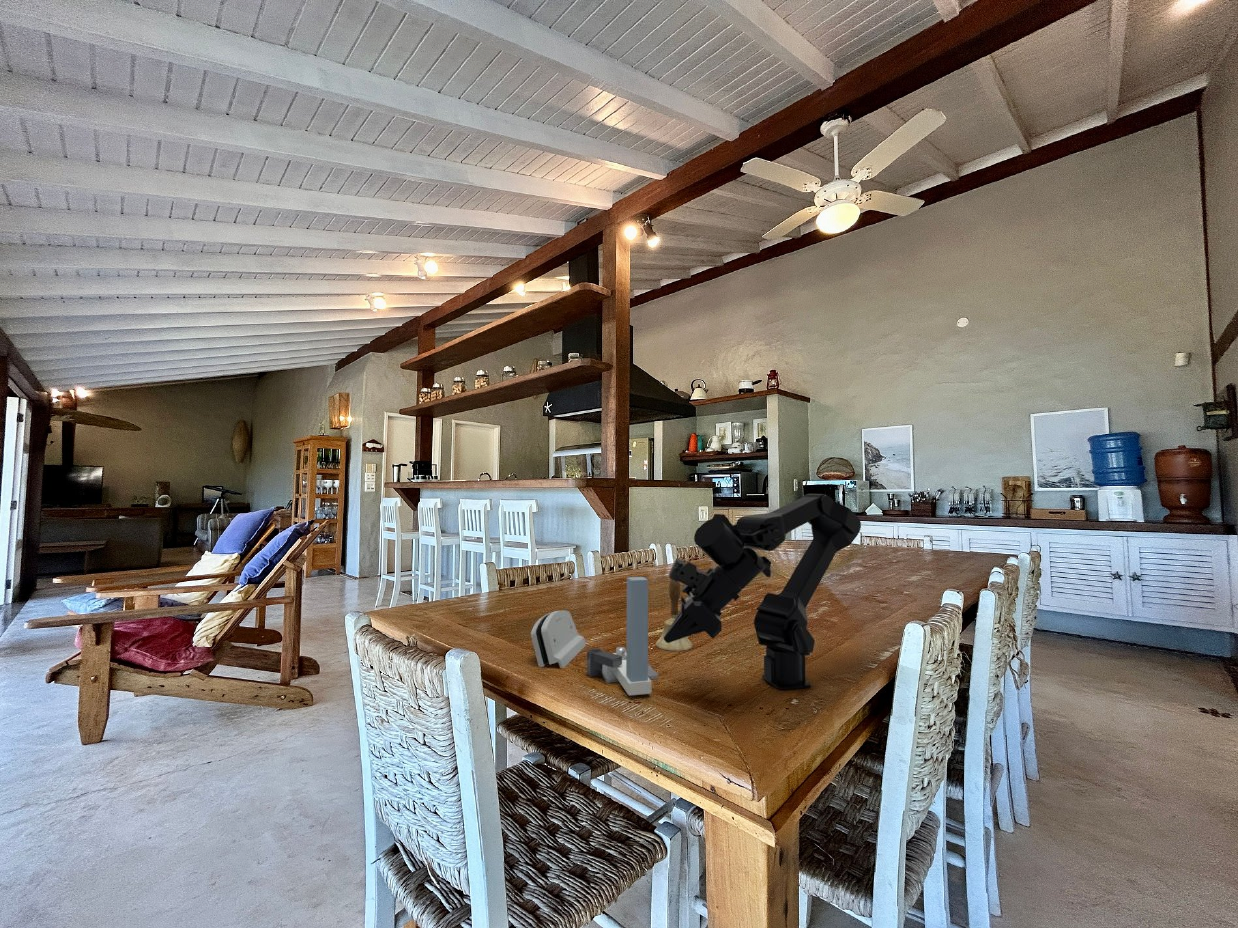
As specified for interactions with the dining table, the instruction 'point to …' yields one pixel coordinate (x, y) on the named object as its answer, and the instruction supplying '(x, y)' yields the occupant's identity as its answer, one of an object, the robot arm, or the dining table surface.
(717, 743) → the dining table surface
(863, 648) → the dining table surface
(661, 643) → the hand bell
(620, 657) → the pintle block
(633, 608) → the link
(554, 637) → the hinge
